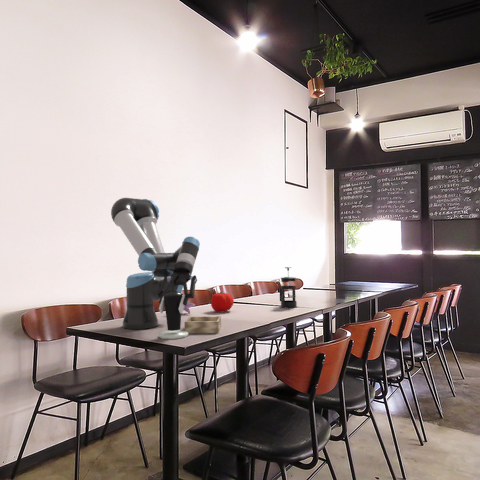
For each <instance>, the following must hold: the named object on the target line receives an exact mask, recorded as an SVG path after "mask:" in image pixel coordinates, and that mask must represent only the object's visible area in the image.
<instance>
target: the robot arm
mask: <svg viewBox="0 0 480 480" xmlns="http://www.w3.org/2000/svg"><path fill="white" fill-rule="evenodd" d="M159 213H160V208H159V207H158V204H157V203H156V201H154V200H152V199H147V198H144V199H142V198H132V197H121V198H119V199H117V200H116V201H115V202H114V203H113V204H112V207H111V211H110V215H111V219H112V221H113V222H114V224H115V225H116V226H117V227H119V228H120V229H121V231H122V232H123V234H124V236H125V238H126V239H127V241H128V242H129V243H130V245H131V247H133V249H134V251H135V252H136V254H137V255H138V258H137V264H138V267H139V269H140V270H141V271H144V272H138V273H134V274H130V275H128V276H127V278H126V285H125V287H126V311H125V315H124V316H123V320H122V328H123V329H126V330H127V329H128V330H143V329H144V330H145V329H153V328H156V327H158V326H159V320H158V316H157V314H156V311H155V301H158V302H159V307H158V310H159V313H160V314H163V313H164V310H165V302H164V296H163V294H165V293H167V292H169V291H172V278H173V279H174V291H178V292H180V293H182V292H183V295H182V299H181V302H180V306H179V312H180V314H181V315H182V314H183V312H184V311H183V309H184V305H187V302H189V300H190V299H194V298H195V291H196V290H195V289H196V283H197V282H198V278H197V276H196V275H193V276H192V273H193V270H194V266H195V263H196V259H197V256H198V253H199V251H200V241H199V240H198V238H196V237H195V236H186V237H185V238H184V239H183V241H182V244H181V246H179V247H178V248H177V249H176V250H175V251H174V252H165V250H164V247H163V244H162V240H161V238H160V234H159V231H158V228H157V226H156V225H157V223H158V220H159V218H160V214H159ZM145 271H146V272H145ZM189 281H190V287H189V290H188V284H187V283H188V282H189Z"/></svg>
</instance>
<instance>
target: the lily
mask: <svg viewBox="0 0 480 480" xmlns="http://www.w3.org/2000/svg"><path fill="white" fill-rule="evenodd" d="M195 306H196V304H195V303H193V302H189V301H188V302H187V305H184V309H183V312H186V313H189V314H191V310H190V309H189V308H191V307H195Z"/></svg>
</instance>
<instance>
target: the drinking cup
mask: <svg viewBox="0 0 480 480" xmlns="http://www.w3.org/2000/svg"><path fill="white" fill-rule="evenodd" d="M163 296H164V302H165V307H164V310H165V318H166V325H167V326H166V327H167V331H175V330H181V325H182V324H181V323H182V314H180V312H179V306H180V302H181V299H182V296H184V292H183V293H182V292H181V293H180V292H178V291H174V279H173V278H172V291H169V292H167V293H165V294H163Z"/></svg>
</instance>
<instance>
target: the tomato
mask: <svg viewBox="0 0 480 480" xmlns="http://www.w3.org/2000/svg"><path fill="white" fill-rule="evenodd" d="M234 301H235V300H234V297H233V296H232V294H230V293H227V292H224V291H220V292H217V293H214V294H213V295H212V297H211V300H210V306H211V308H212V309H213V311H215V312H217V313H222V312H227V311H229V310H231V309H232V307H233V306H234Z"/></svg>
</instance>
